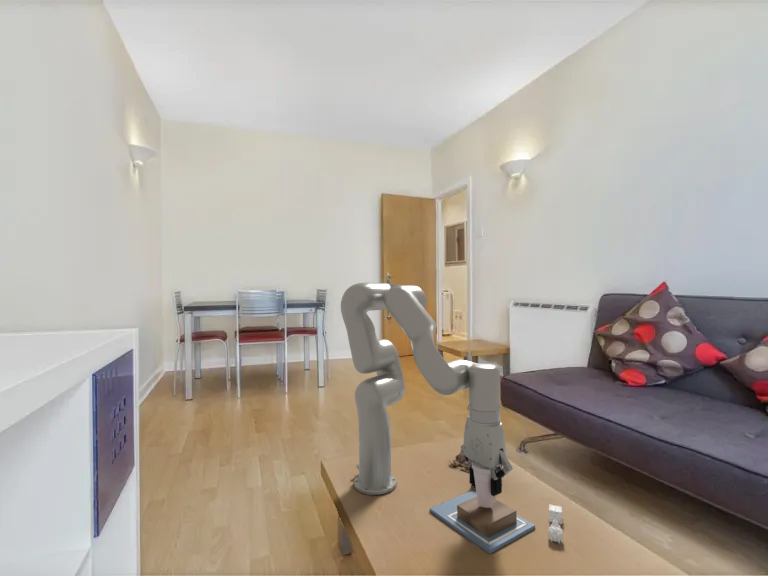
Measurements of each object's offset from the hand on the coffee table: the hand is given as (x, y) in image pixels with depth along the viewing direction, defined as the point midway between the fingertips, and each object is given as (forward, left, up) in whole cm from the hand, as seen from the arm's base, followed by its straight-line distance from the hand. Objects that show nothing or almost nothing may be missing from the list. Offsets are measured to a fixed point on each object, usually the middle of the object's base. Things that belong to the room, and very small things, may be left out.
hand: (485, 487), depth 96 cm
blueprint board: (-2, 0, -9) cm, 9 cm away
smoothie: (0, 0, -4) cm, 4 cm away
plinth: (0, 0, -9) cm, 9 cm away
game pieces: (+11, +12, -9) cm, 19 cm away
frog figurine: (-27, +19, -9) cm, 34 cm away
